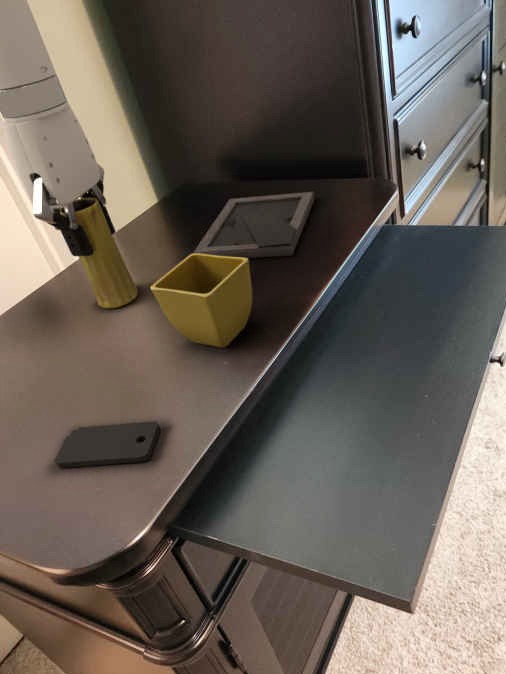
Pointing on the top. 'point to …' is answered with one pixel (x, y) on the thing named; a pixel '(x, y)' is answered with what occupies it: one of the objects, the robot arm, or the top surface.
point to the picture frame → (258, 226)
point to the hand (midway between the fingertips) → (94, 243)
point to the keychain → (108, 444)
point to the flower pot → (207, 297)
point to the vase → (103, 257)
